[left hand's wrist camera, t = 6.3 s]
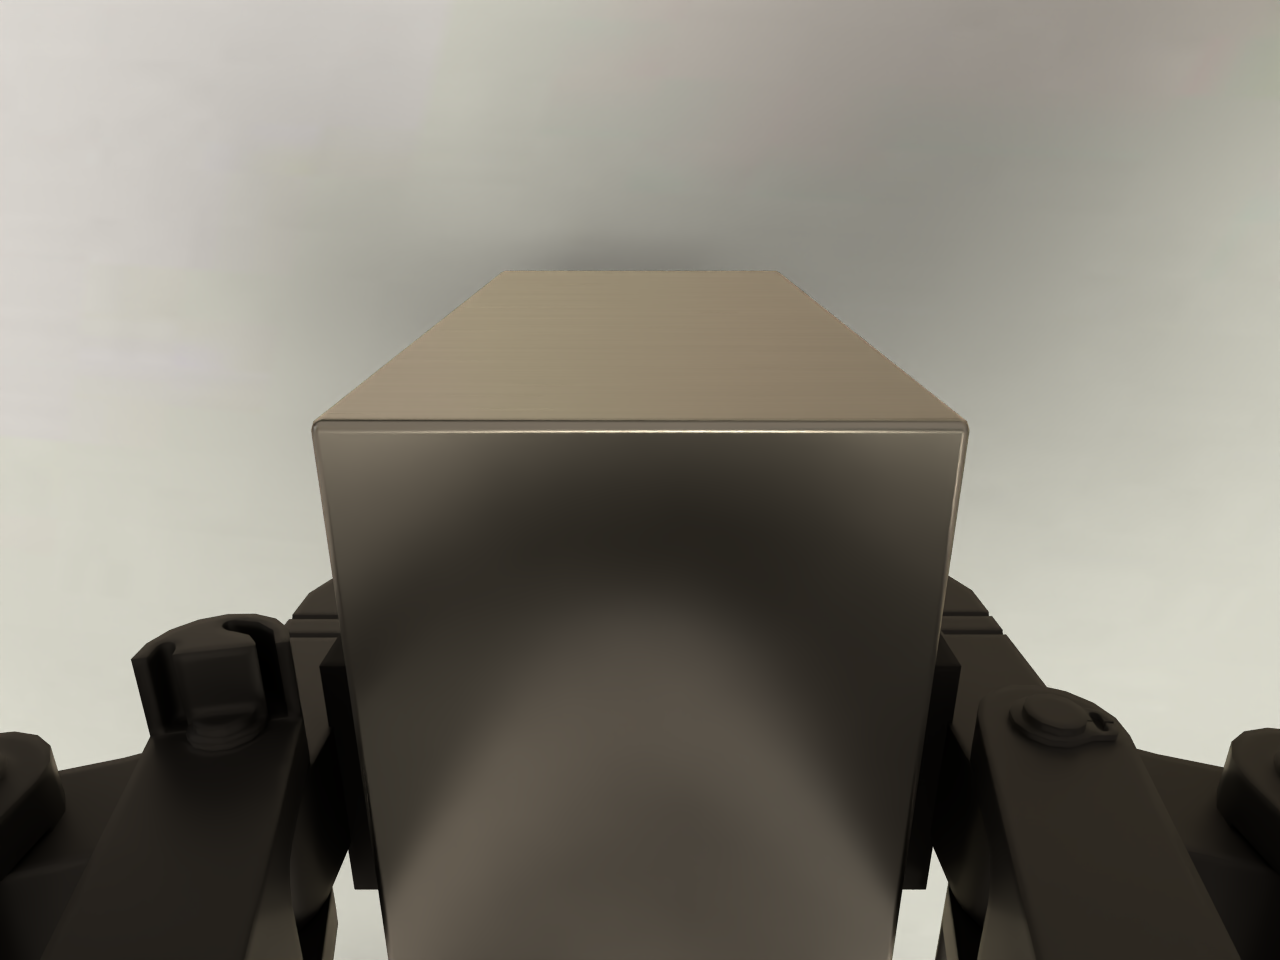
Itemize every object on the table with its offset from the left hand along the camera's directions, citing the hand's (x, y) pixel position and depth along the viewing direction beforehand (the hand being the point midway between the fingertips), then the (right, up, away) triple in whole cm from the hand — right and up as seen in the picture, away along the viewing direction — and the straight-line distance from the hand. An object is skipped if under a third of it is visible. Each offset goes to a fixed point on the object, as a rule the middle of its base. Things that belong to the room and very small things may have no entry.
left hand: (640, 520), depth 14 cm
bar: (0, -8, +4) cm, 8 cm away
